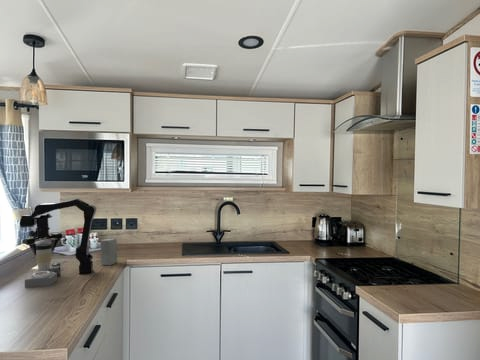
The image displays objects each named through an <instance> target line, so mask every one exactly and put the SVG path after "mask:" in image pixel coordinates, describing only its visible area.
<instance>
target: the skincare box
mask: <svg viewBox="0 0 480 360" xmlns="http://www.w3.org/2000/svg"><path fill="white" fill-rule="evenodd" d="M117 251H118V250H117V238H106V239H105V238H103V239H102V240H100V263H101V266H111V265H115V263H118V258H117V257H118V255H117Z"/></svg>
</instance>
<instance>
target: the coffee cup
mask: <svg viewBox="0 0 480 360" xmlns="http://www.w3.org/2000/svg"><path fill="white" fill-rule="evenodd" d="M52 253H53V252H52V250H51V243H40V244H36V255H35V257H36V263H37V269H38V272H40V271H50V269H51V264H52V263H51V261H52Z"/></svg>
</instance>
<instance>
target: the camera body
mask: <svg viewBox="0 0 480 360" xmlns="http://www.w3.org/2000/svg"><path fill="white" fill-rule="evenodd" d="M56 281H58V277H57V273H55V272H52V271H50V270H46V271H37V272H34V273H33V272H32V274H31V275H29V276H28V277H27V278H25V279H24V288H33V287H49V286H53V284H54V283H56Z"/></svg>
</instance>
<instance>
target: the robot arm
mask: <svg viewBox="0 0 480 360" xmlns="http://www.w3.org/2000/svg"><path fill="white" fill-rule="evenodd" d="M71 207H76V208H77V209H79V210H81V211H82V212H83V220H84V223H83V228H82V232H81V240H80V243H79V244H80V245H78V246H77V247H75V253H74V256H75V259H76V260H77V261H78V262H79V265H78V274H79V275H87V274H92V273H94V270H95V269H94V268H93V265H94V264H93V262H94V261H93V257H94V256H93V255H92V254H91V253H90V246H89V242H90V236H91V235H90V234H91V230H92V224H93V220H94V218H95V215H96V212H97V207H96V206H95V205H94V204H89V203H87V202H85V201H83V200H81V198H76V199H70V200H66V201H65V200H64V201H61V202H55V203H40V204H37V205H35V207H34V210H33V212H32V213H31V214H28V215H27V214H23V215H21V218H20V221H19V226H20V228H34V227H35V226H36V227H35V230H29V231H28V237H24V238H23V239H22V244H23V245H26V246H29V247H30V249H31V251H32V253H33V256H36V246H37V244H36V242H39V241H40V242H41V241H45V240H50V242H51V243H50V244H51V250H52V253H53V252H54V251H55V249H56V247H57V245H58V243H59V241H61V239H63V234H62V232H54V233H50V229H51V228H50V227H49V219H51V218H53V216H52V214H50V212H53V211H57V210H61V209H66V208H71Z"/></svg>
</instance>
